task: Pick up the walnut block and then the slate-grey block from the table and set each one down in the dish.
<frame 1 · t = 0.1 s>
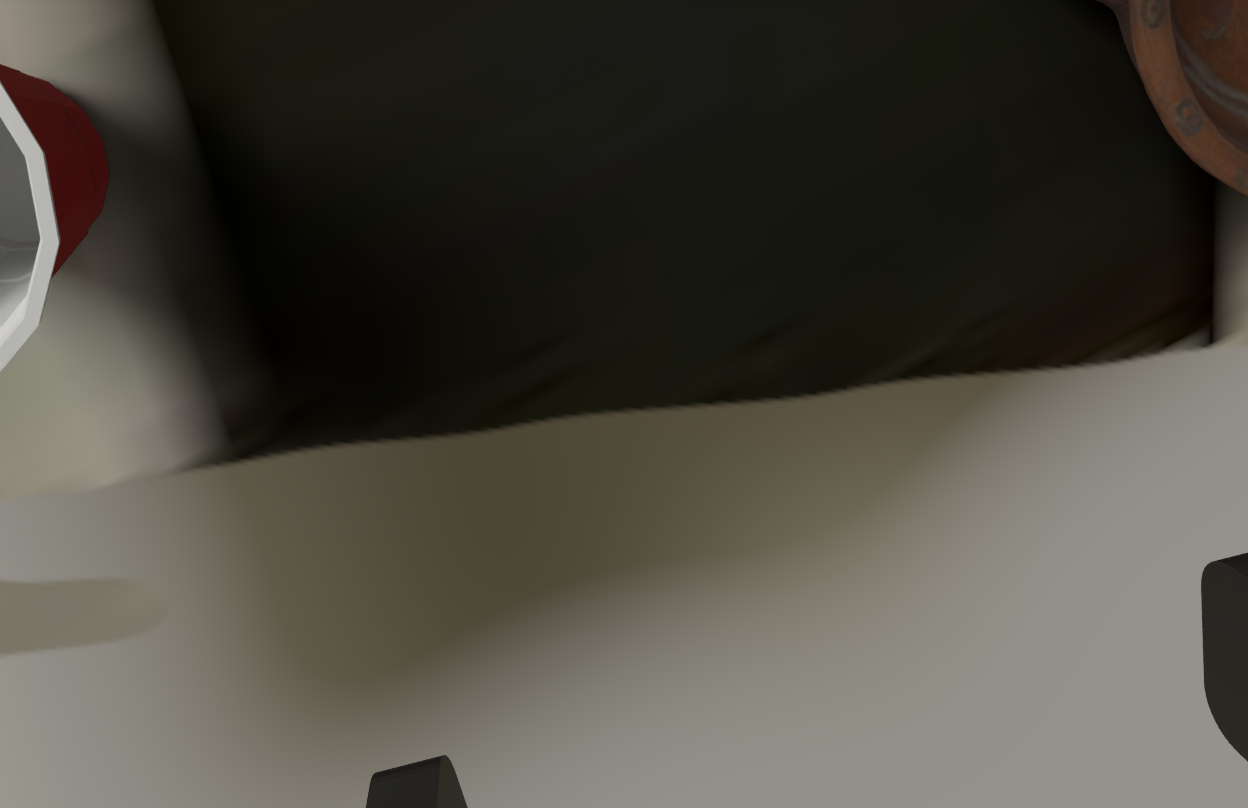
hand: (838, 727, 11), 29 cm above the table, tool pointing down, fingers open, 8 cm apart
plastic cup: (22, 154, 36), on the table
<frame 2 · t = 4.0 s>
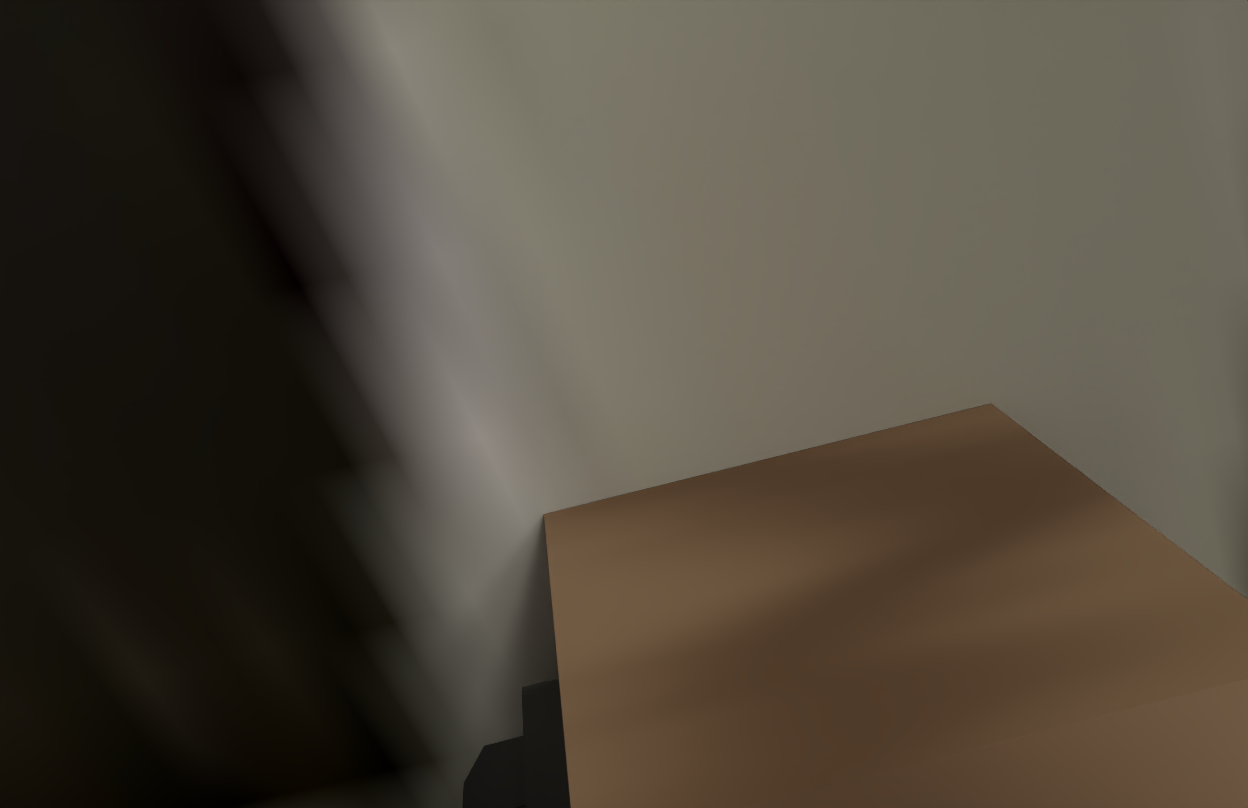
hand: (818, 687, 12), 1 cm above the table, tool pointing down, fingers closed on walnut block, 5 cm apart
walnut block: (804, 650, 12), on the table, touching gripper
when the fingers open (7 cm above the table, at t = 7.8 s): walnut block drops 2 cm, resting on dish.
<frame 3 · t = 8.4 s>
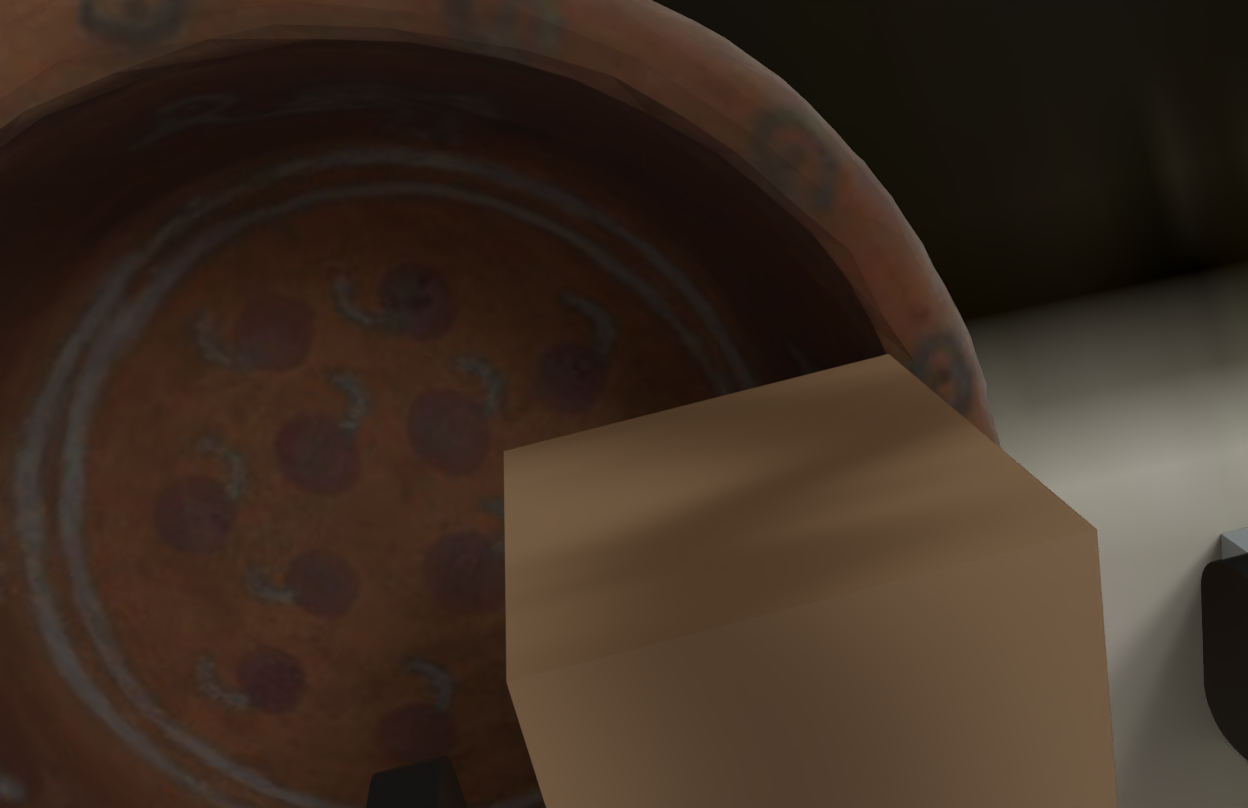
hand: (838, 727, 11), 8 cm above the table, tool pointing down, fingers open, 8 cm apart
dish: (414, 499, 19), on the table, touching walnut block
walnut block: (733, 572, 14), point 5 cm above the table, touching dish
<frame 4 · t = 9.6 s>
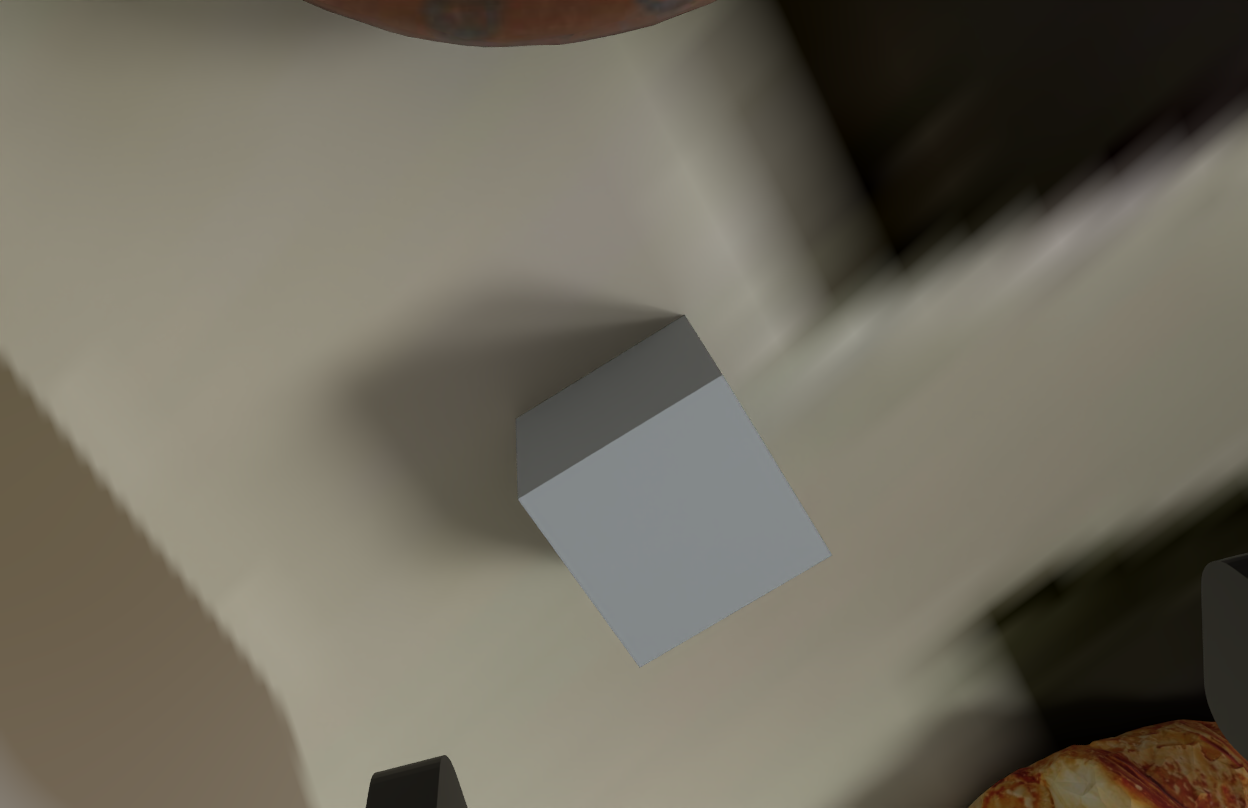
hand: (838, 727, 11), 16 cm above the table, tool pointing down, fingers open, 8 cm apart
grey block: (649, 443, 28), on the table
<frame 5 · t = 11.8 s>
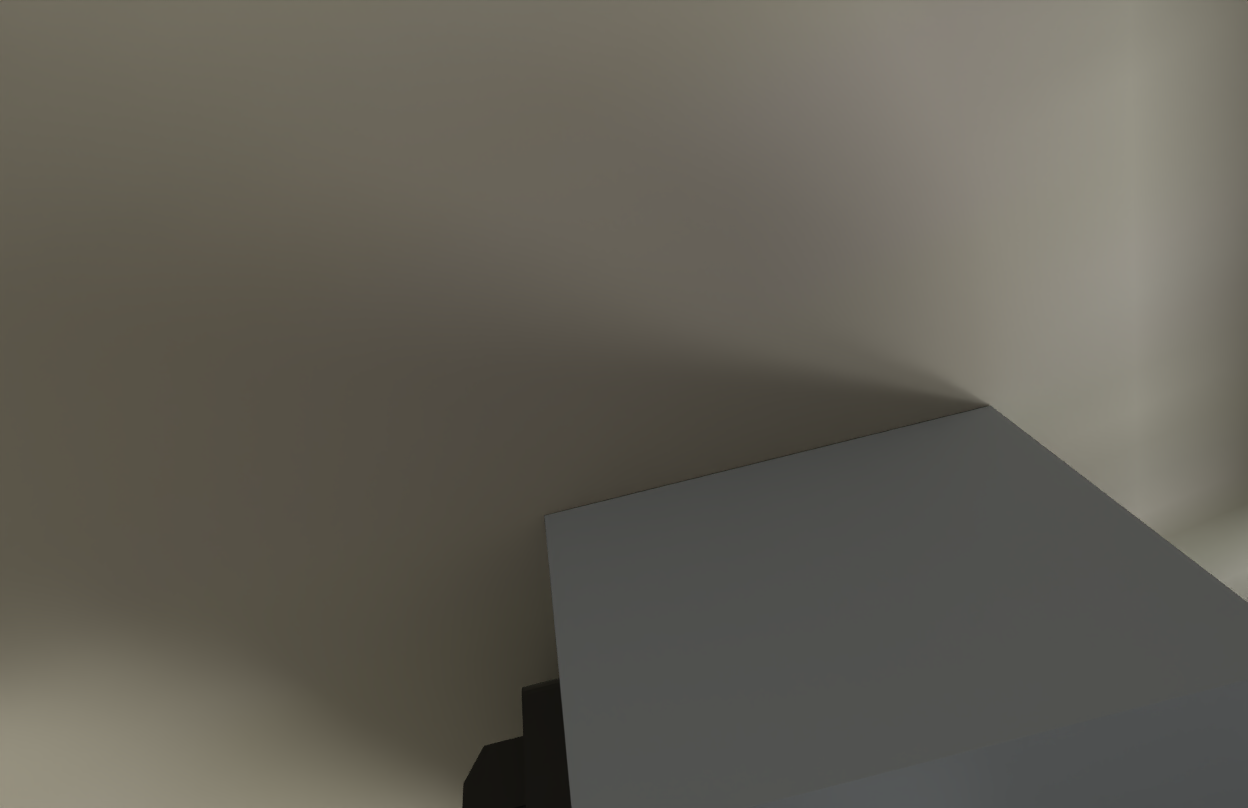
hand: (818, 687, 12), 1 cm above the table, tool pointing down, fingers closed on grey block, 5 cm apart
grey block: (804, 652, 12), on the table, touching gripper
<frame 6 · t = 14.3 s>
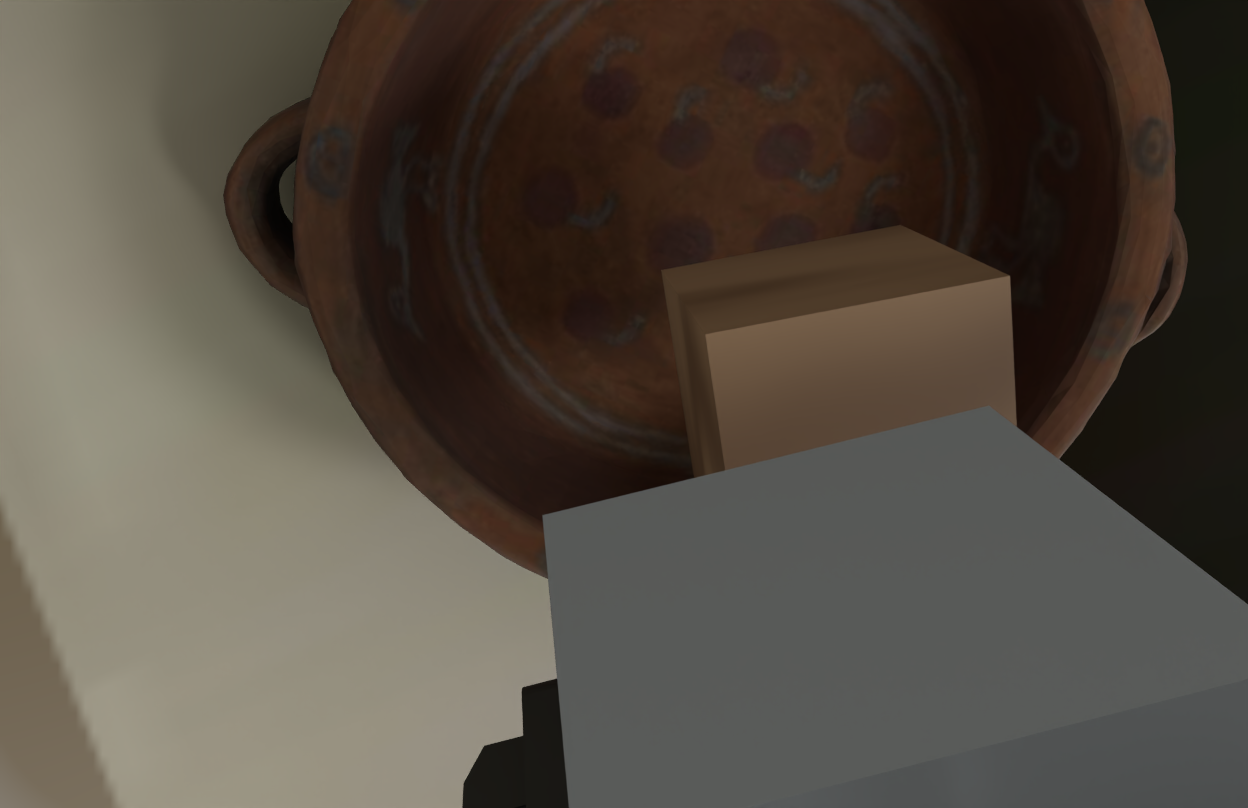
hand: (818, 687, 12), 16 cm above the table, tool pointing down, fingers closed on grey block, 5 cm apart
dish: (712, 201, 26), on the table, touching walnut block
walnut block: (795, 363, 23), point 5 cm above the table, touching dish
grey block: (802, 652, 12), point 15 cm above the table, touching gripper
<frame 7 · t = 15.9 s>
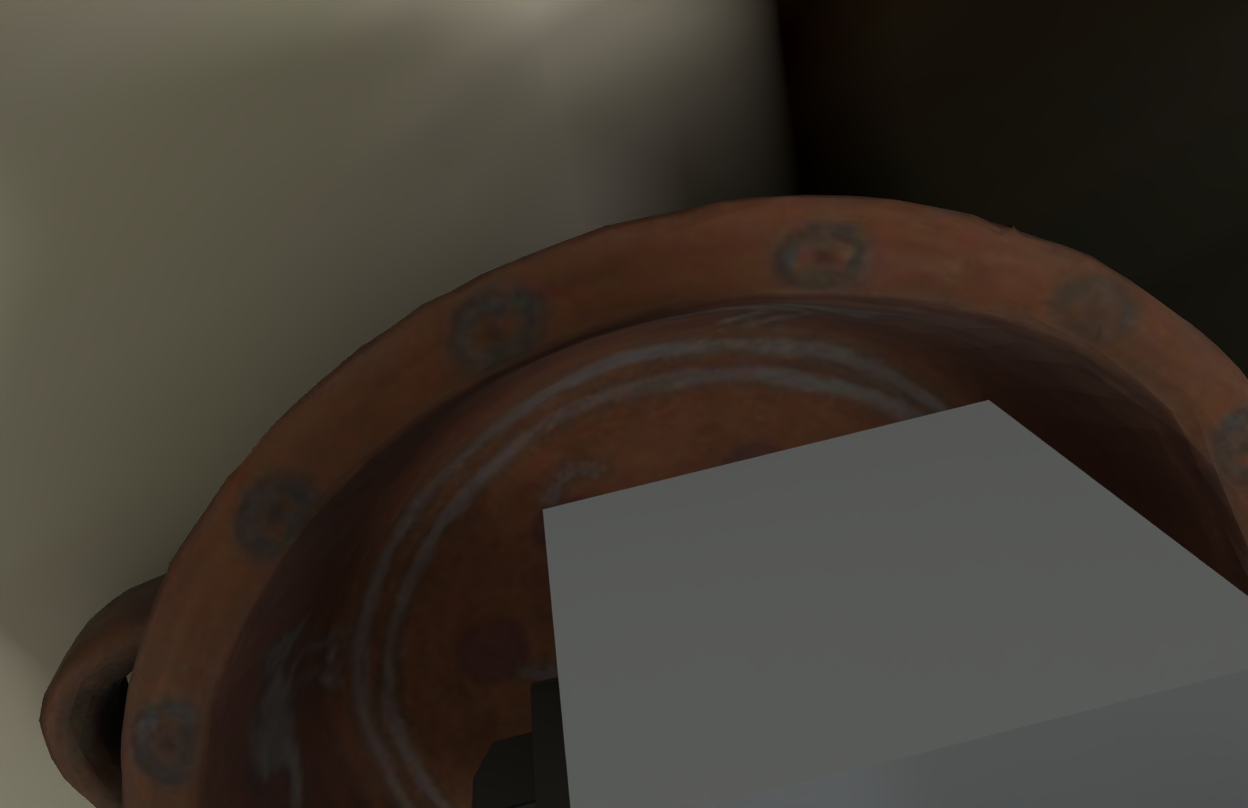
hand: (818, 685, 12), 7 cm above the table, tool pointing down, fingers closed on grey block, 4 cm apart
dish: (707, 615, 20), on the table, touching walnut block
grey block: (802, 646, 12), point 7 cm above the table, touching gripper
when the fingers open (7 cm above the table, at t = 16.2 s): grey block drops 2 cm, resting on dish.
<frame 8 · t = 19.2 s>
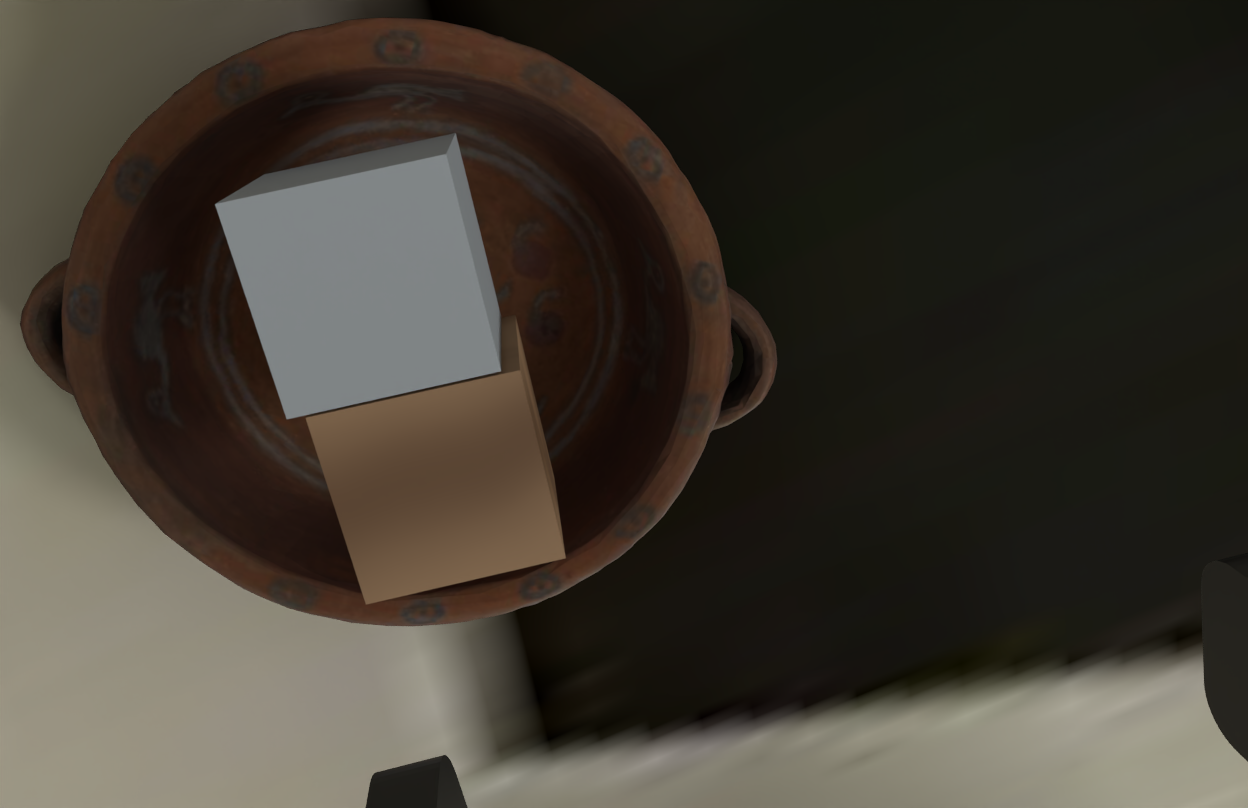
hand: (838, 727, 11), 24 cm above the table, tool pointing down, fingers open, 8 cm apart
dish: (423, 308, 34), on the table, touching grey block, walnut block
walnut block: (448, 418, 30), point 5 cm above the table, touching dish
grey block: (386, 247, 28), point 5 cm above the table, touching dish
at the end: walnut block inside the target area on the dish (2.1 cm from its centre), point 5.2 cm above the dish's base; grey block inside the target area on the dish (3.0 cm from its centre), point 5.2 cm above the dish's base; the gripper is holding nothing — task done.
